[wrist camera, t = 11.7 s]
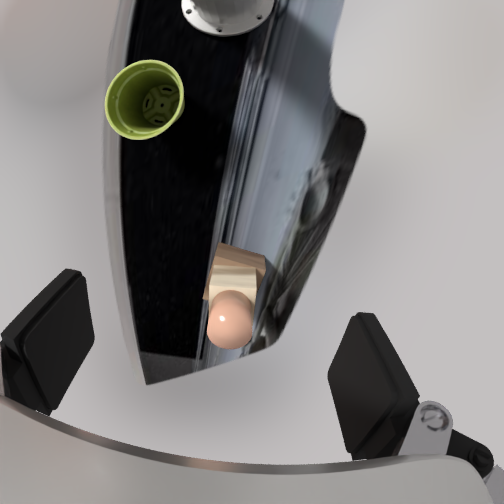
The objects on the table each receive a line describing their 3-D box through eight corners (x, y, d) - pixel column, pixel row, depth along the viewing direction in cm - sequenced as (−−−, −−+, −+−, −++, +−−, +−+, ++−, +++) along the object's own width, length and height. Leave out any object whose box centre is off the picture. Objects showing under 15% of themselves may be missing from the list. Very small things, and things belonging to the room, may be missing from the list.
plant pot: (140, 70, 33) (114, 58, 25) (204, 77, 34) (192, 63, 26) (126, 133, 36) (98, 135, 28) (188, 142, 37) (173, 145, 29)
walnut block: (218, 241, 43) (215, 255, 38) (264, 255, 44) (265, 270, 39) (207, 281, 46) (202, 298, 41) (249, 293, 46) (249, 311, 42)
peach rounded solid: (215, 285, 34) (211, 309, 29) (255, 294, 34) (257, 319, 30) (207, 318, 36) (203, 344, 31) (245, 326, 36) (245, 352, 32)
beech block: (214, 264, 39) (209, 285, 34) (255, 267, 39) (256, 288, 34) (213, 299, 41) (208, 323, 36) (252, 302, 41) (252, 326, 36)
